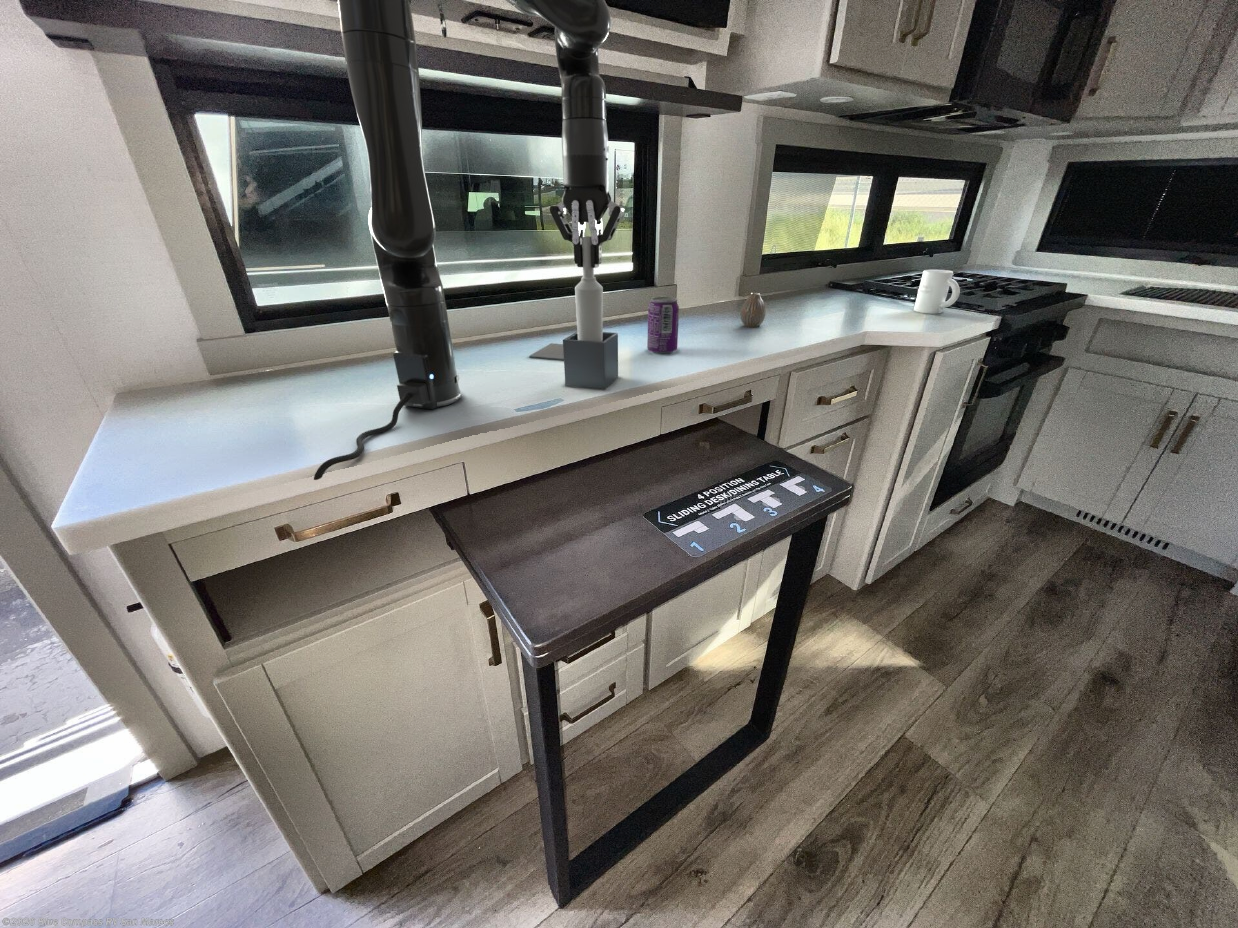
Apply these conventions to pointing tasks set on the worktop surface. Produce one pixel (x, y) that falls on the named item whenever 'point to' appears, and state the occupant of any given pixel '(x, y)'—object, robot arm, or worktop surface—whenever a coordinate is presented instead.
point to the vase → (753, 311)
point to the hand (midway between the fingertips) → (588, 266)
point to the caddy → (591, 361)
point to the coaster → (550, 352)
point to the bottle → (589, 300)
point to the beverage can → (663, 325)
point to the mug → (936, 291)
